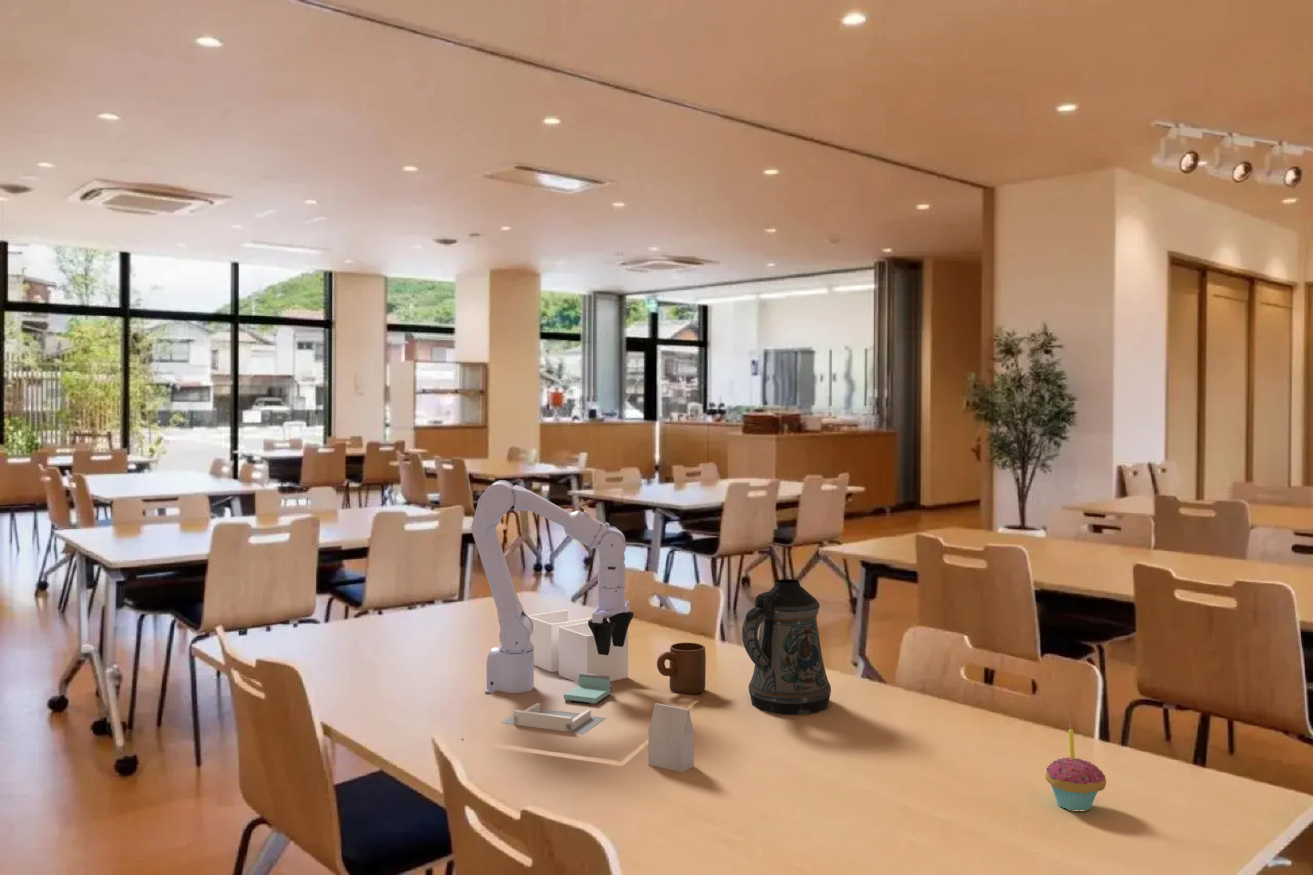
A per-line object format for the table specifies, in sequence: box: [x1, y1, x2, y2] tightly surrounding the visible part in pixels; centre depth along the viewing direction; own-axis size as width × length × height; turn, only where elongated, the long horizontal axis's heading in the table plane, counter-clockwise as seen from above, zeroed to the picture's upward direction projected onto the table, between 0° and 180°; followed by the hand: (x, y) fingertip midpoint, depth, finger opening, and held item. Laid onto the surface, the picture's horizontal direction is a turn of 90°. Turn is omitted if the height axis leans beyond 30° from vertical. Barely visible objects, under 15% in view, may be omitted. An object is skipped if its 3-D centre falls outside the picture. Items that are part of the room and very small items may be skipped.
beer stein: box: [741, 578, 832, 716], centre depth 205 cm, size 16×19×25 cm
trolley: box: [563, 673, 613, 707], centre depth 207 cm, size 7×8×5 cm
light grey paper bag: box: [647, 702, 695, 773], centre depth 172 cm, size 4×7×10 cm, turn 56°
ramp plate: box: [545, 709, 580, 714], centre depth 200 cm, size 9×5×1 cm, turn 69°
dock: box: [501, 702, 606, 735], centre depth 193 cm, size 17×10×3 cm, turn 69°
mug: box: [656, 642, 707, 696], centre depth 213 cm, size 12×8×9 cm, turn 130°
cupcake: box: [1045, 723, 1107, 811], centre depth 155 cm, size 9×8×12 cm
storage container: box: [527, 609, 629, 683], centre depth 231 cm, size 25×11×11 cm, turn 39°
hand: (611, 650), depth 215 cm, fingers open, 7 cm apart
